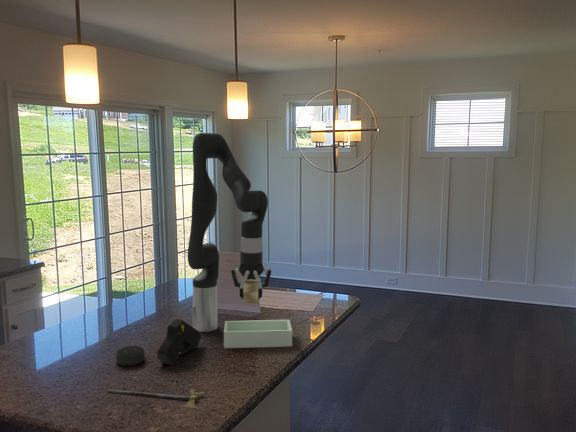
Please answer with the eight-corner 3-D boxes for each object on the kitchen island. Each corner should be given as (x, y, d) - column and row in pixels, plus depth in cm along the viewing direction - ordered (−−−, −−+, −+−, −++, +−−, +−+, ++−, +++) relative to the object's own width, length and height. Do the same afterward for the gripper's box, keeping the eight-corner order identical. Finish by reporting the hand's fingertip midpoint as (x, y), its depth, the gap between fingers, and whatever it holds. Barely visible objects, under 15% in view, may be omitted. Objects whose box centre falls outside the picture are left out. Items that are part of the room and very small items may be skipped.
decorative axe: (104, 390, 145) (127, 372, 154) (105, 396, 146) (128, 377, 155) (194, 412, 134) (213, 391, 143) (194, 418, 135) (214, 396, 143)
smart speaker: (112, 360, 168) (111, 349, 168) (138, 354, 174) (137, 342, 173) (122, 369, 161) (122, 357, 161) (149, 362, 167) (149, 350, 167)
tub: (223, 348, 179) (223, 332, 178) (225, 336, 191) (225, 321, 190) (292, 346, 181) (292, 330, 180) (289, 334, 193) (289, 319, 192)
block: (243, 303, 172) (243, 283, 171) (243, 298, 177) (243, 279, 176) (258, 303, 172) (258, 283, 171) (258, 298, 177) (258, 279, 176)
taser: (153, 359, 162) (169, 314, 169) (180, 373, 177) (194, 331, 183) (164, 361, 161) (180, 316, 167) (190, 375, 175) (204, 332, 182)
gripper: (229, 251, 168) (229, 301, 171) (273, 252, 169) (272, 302, 171) (230, 247, 176) (230, 295, 178) (272, 247, 176) (271, 295, 179)
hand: (251, 298), depth 175 cm, fingers closed on block, 5 cm apart
